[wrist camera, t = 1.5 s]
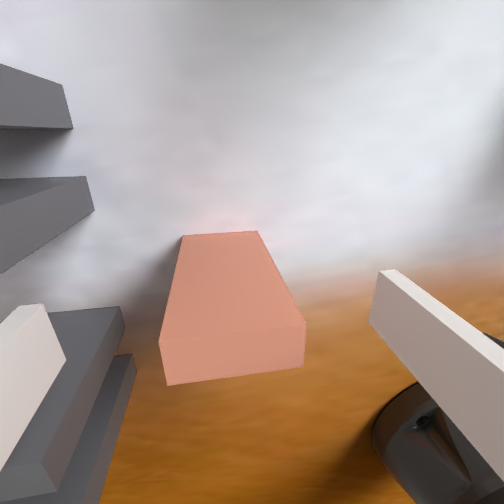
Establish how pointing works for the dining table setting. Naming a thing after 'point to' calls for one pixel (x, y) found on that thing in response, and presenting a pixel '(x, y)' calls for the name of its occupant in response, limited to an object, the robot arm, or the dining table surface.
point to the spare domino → (228, 312)
